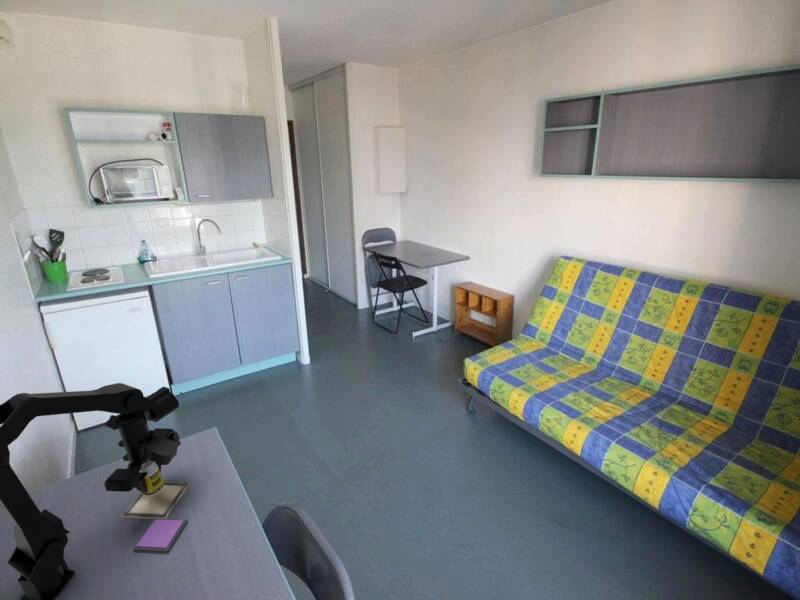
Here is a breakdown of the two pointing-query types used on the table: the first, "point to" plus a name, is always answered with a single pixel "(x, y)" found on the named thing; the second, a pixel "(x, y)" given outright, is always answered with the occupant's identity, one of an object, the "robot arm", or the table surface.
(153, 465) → the supplement bottle
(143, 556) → the table surface
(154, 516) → the marked board
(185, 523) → the ink pad
